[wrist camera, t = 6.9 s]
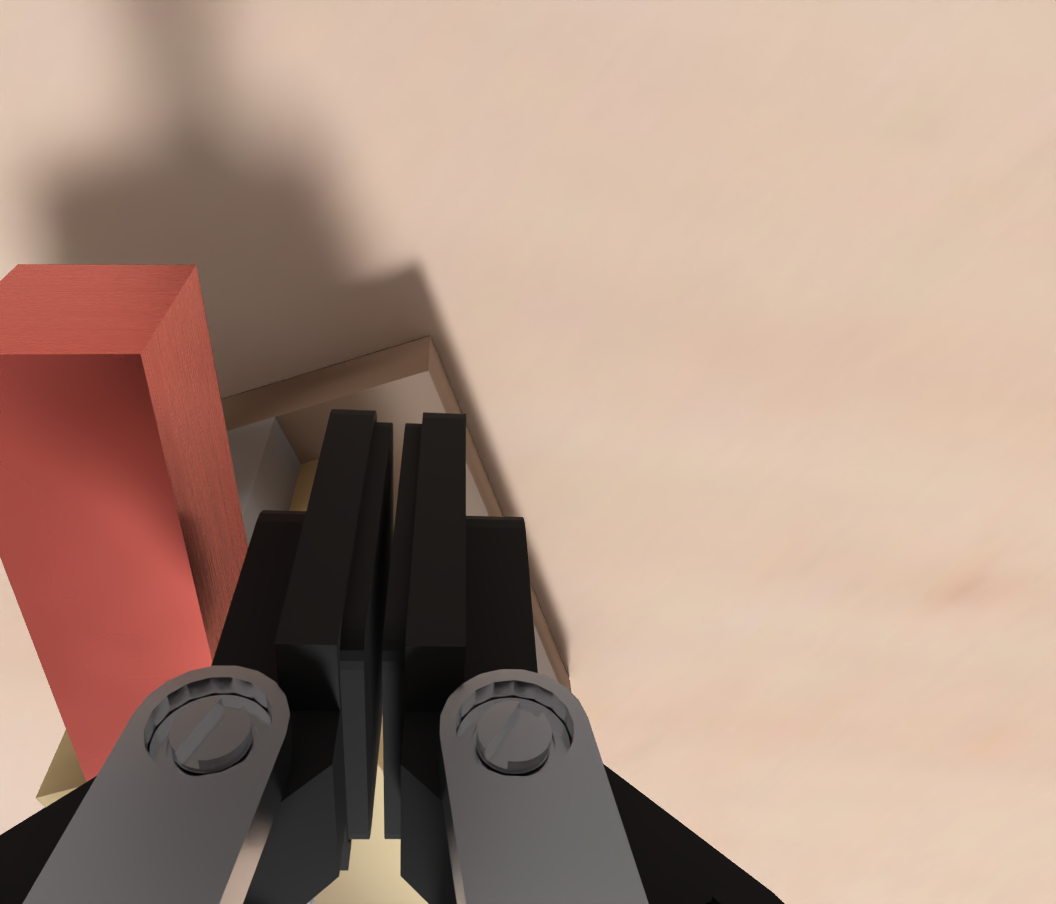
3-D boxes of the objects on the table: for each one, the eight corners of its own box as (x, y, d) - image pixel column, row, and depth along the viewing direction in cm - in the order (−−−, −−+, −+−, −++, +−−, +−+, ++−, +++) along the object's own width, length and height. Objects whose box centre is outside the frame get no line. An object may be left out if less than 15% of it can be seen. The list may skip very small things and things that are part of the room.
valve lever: (324, 890, 17) (306, 1037, 15) (214, 895, 17) (180, 1044, 15) (216, 247, 10) (152, 354, 8) (26, 245, 10) (-90, 354, 8)
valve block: (430, 335, 19) (417, 560, 13) (569, 679, 25) (604, 940, 19) (-1, 467, 20) (-196, 730, 14) (233, 765, 26) (166, 1037, 20)
